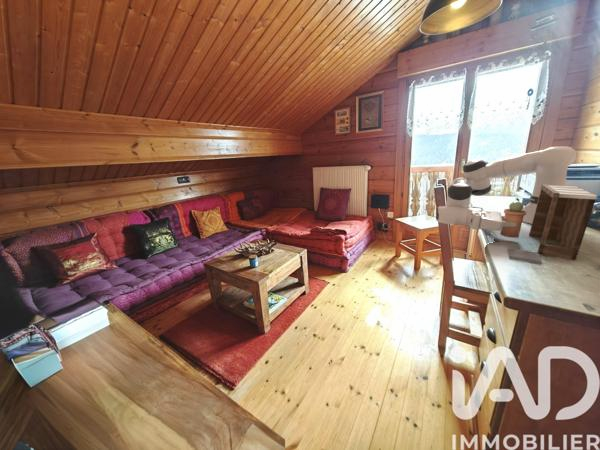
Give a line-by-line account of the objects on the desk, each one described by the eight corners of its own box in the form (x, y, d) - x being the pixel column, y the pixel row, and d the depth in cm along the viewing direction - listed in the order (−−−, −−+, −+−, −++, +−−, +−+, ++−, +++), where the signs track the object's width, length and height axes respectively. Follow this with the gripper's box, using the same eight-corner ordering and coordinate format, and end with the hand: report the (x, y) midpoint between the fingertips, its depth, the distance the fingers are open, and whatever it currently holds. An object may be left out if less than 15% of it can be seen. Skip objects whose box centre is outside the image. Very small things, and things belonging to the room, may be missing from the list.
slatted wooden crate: (528, 235, 109) (541, 184, 102) (559, 239, 103) (575, 185, 96) (537, 254, 90) (554, 192, 83) (575, 260, 84) (597, 194, 77)
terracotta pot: (498, 231, 108) (505, 199, 103) (519, 234, 104) (527, 200, 99) (499, 236, 103) (506, 202, 98) (520, 239, 98) (529, 203, 94)
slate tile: (507, 250, 94) (508, 247, 94) (537, 254, 89) (537, 252, 89) (509, 258, 87) (510, 255, 87) (541, 263, 82) (541, 261, 82)
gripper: (475, 219, 118) (511, 223, 110) (473, 230, 102) (515, 235, 94) (477, 206, 116) (514, 210, 108) (475, 216, 100) (519, 220, 92)
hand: (515, 222), depth 101 cm, fingers closed on terracotta pot, 6 cm apart
